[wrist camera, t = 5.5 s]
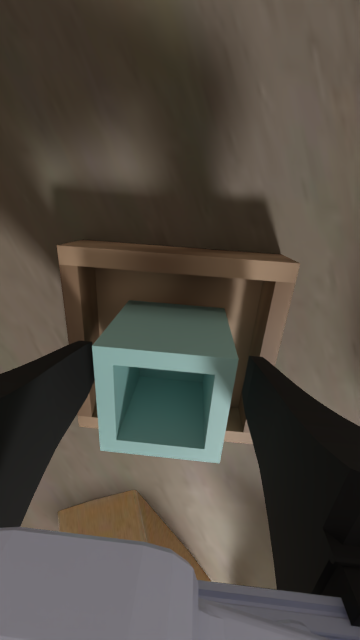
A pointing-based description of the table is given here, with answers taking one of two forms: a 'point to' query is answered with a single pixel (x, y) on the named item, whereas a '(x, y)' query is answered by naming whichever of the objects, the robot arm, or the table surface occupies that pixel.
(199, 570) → the sandwich container
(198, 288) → the walnut crate
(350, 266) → the table surface
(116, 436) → the box
